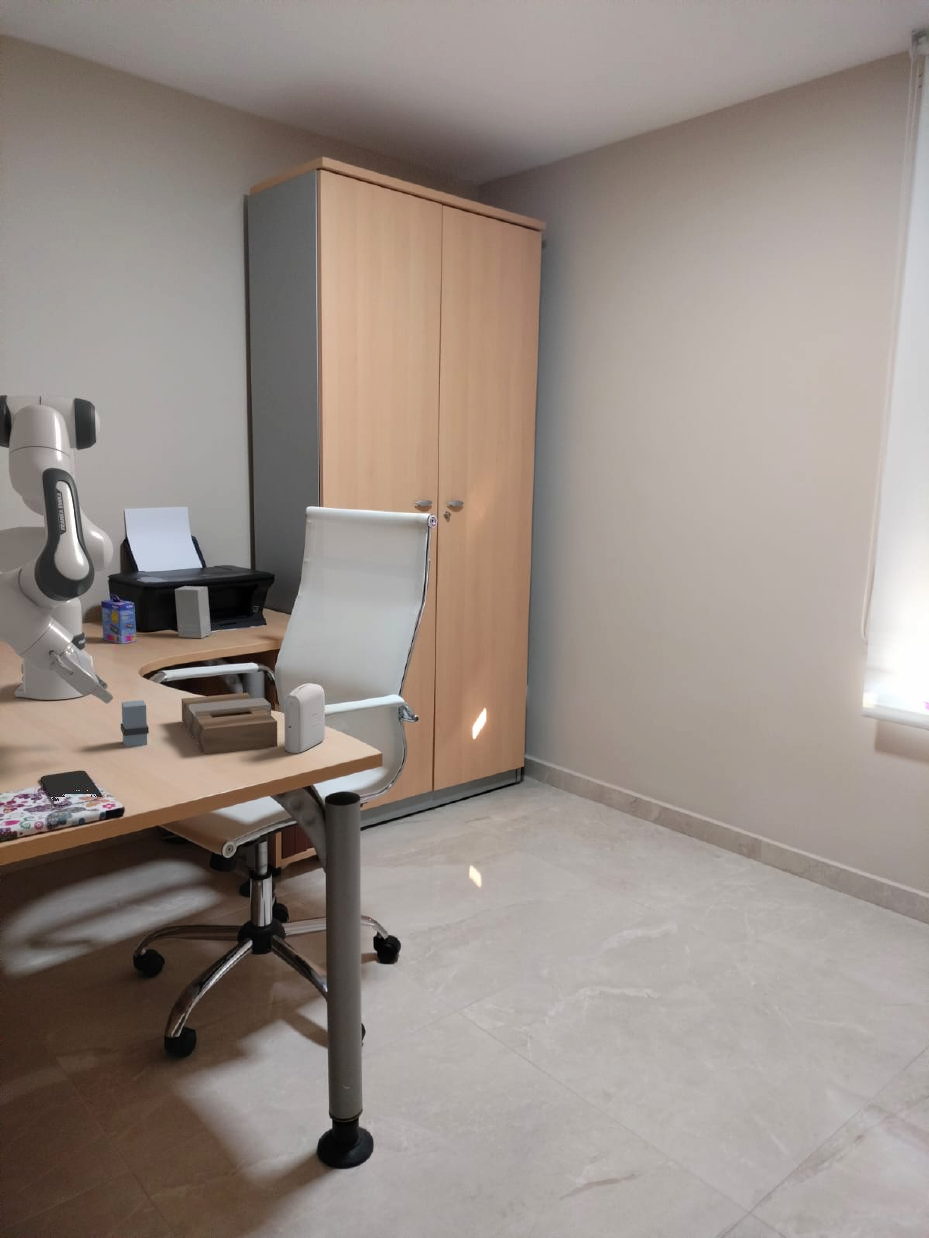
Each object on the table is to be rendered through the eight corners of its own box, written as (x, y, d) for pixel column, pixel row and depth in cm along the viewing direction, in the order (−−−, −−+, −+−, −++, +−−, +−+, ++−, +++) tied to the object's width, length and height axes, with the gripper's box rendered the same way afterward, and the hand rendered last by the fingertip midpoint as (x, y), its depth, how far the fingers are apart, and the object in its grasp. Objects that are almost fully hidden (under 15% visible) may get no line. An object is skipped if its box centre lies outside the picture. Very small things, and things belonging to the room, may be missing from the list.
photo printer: (300, 755, 172) (300, 692, 170) (281, 751, 174) (281, 689, 172) (327, 740, 182) (328, 680, 180) (309, 737, 183) (309, 678, 181)
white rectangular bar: (189, 723, 184) (189, 704, 183) (263, 716, 191) (263, 697, 190) (195, 731, 179) (194, 711, 178) (271, 723, 185) (271, 704, 185)
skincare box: (211, 635, 287) (210, 586, 284) (199, 639, 280) (198, 589, 277) (187, 633, 289) (186, 584, 286) (175, 637, 282) (174, 587, 279)
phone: (55, 804, 143) (38, 776, 155) (55, 809, 143) (39, 780, 156) (104, 796, 147) (84, 769, 160) (104, 801, 147) (84, 773, 160)
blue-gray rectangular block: (121, 741, 178) (119, 701, 176) (145, 738, 180) (144, 699, 178) (124, 747, 174) (122, 707, 172) (149, 745, 176) (147, 705, 174)
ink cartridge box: (101, 640, 275) (99, 593, 273) (117, 637, 279) (116, 591, 277) (120, 644, 269) (119, 596, 267) (137, 641, 274) (135, 594, 271)
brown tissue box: (182, 721, 192) (181, 698, 191) (247, 714, 198) (247, 692, 198) (204, 754, 171) (204, 728, 170) (277, 745, 177) (277, 721, 177)
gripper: (65, 644, 158) (126, 694, 164) (58, 626, 176) (113, 671, 182) (38, 671, 157) (100, 720, 163) (34, 649, 175) (90, 694, 181)
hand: (107, 694), depth 173 cm, fingers open, 8 cm apart
